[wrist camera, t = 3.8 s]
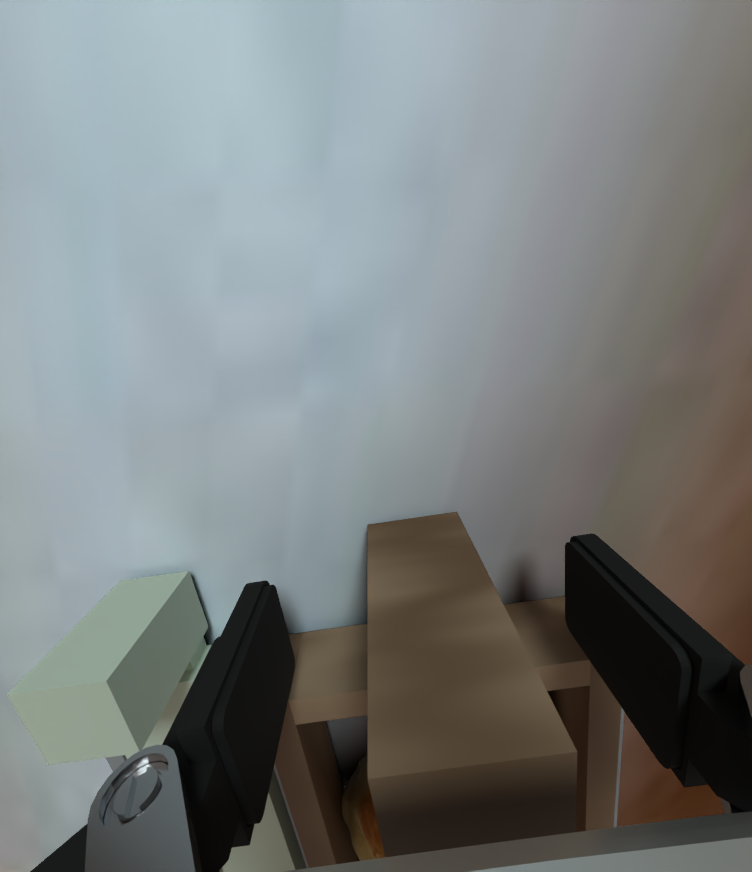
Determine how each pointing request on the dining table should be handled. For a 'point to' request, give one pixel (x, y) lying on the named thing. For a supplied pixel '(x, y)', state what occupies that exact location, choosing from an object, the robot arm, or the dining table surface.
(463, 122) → the dining table surface
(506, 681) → the frame
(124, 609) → the sage strip
